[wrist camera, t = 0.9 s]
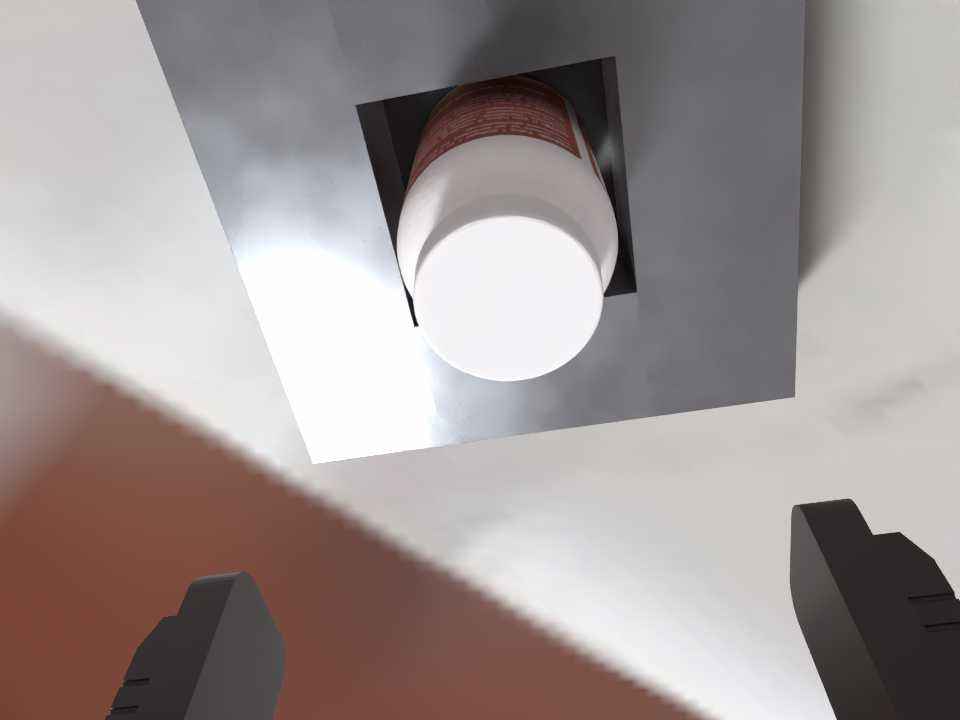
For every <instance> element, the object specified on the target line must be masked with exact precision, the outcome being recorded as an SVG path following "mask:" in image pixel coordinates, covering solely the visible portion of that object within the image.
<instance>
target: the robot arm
mask: <svg viewBox="0 0 960 720" xmlns="http://www.w3.org/2000/svg"><path fill="white" fill-rule="evenodd" d="M790 588H791V595H792V600H793V605H794V609H795V613H796V616H797V619H798V622H799V625H800V628H801V630H802V633H803V635H804V638H805V640H806V643H807V645H808V648H809V650H810V653H811V655H812V658H813V661H814V663H815V666H816V668H817V671H818V673H819V676H820V678H821V681H822V683H823V686H824V688H825V691H826V693H827V696H828V698H829V701H830V703H831V706H832V709H833V711H834V714H835V716H836V719H837V720H960V600H959V599H956V598H955V594H954V593H955V592H954V591H953V589H952V588H951V586H950V584H949V583H948V581H947V580H946V578H945V576H944V575H943V573H942V572H941V570H940V568H939V567H938V565H937V564H936V562H935V560H934V559H933V558H932V557H931V556H929V555H928V554H927V553H926V552H924V551H923V550H922V549H920V548H919V547H918V546H917V545H915V544H914V543H913V542H912V541H910V540H909V539H908V538H907V537H905V536H904V535H903V534H901V533H900V532H895V533H886V534H878V535H873V534H872V532H871V530H870V529H869V527H868V525H867V523H866V521H865V520H864V518H863V516H862V514H861V512H860V511H859V509H858V507H857V506H856V504H855V503H854V502H853V501H852V500H851V499H841V500H833V501H825V502H817V503H809V504H801V505H794V506H793V509H792V516H791V552H790ZM284 666H285V654H284V645H283V641H282V637H281V635H280V632H279V630H278V628H277V627H276V624H275V622H274V620H273V618H272V616H271V614H270V612H269V610H268V608H267V606H266V604H265V602H264V600H263V597H262V595H261V593H260V591H259V589H258V587H257V585H256V583H255V581H254V579H253V578H252V576H251V575H250V574H249V573H247V572H237V573H230V574H221V575H213V576H205V577H198V578H196V579H195V580H194V581H193V582H192V583H191V584H190V586H189V588H188V591H187V593H186V595H185V598H184V600H183V602H182V605H181V607H180V609H179V612H178V614H177V616H169V617H164V618H163V619H162V620H161V621H160V622H159V623H158V625H157V626H156V627H155V628H154V629H153V630H152V632H151V633H150V634H149V635H148V636H147V638H146V639H145V640H144V641H143V642H142V643H141V644H140V646H139V647H138V648H137V651H136V653H135V655H134V657H133V659H132V662H131V664H130V666H129V668H128V670H127V673H126V675H125V677H124V679H123V687H121V688H119V690H118V692H117V695H116V697H115V699H114V701H113V703H112V706H111V708H110V709H111V714H110V715H107V717H106V719H105V720H272V718H273V714H274V710H275V706H276V702H277V699H278V695H279V691H280V687H281V683H282V680H283V675H284Z"/></svg>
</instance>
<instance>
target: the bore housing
mask: <svg viewBox="0 0 960 720" xmlns="http://www.w3.org/2000/svg"><path fill="white" fill-rule="evenodd" d="M136 2H137V5H138V7H139V10H140V13H141V15H142V18H143V20H144V23H145V26H146V28H147V31H148V33H149V36H150V39H151V41H152V44H153V46H154V49H155V52H156V54H157V57H158V59H159V62H160V65H161V67H162V70H163V72H164V75H165V78H166V80H167V83H168V85H169V88H170V91H171V93H172V96H173V99H174V101H175V104H176V106H177V109H178V112H179V114H180V117H181V119H182V122H183V125H184V127H185V130H186V132H187V135H188V138H189V140H190V143H191V145H192V148H193V151H194V153H195V156H196V158H197V161H198V164H199V166H200V169H201V172H202V174H203V177H204V179H205V182H206V185H207V187H208V190H209V192H210V195H211V198H212V200H213V203H214V205H215V208H216V211H217V213H218V216H219V218H220V221H221V224H222V226H223V229H224V231H225V234H226V237H227V239H228V242H229V245H230V247H231V250H232V252H233V255H234V258H235V260H236V263H237V265H238V268H239V271H240V273H241V276H242V278H243V281H244V284H245V286H246V289H247V291H248V294H249V297H250V299H251V302H252V304H253V307H254V310H255V312H256V315H257V317H258V320H259V323H260V325H261V328H262V331H263V333H264V336H265V338H266V341H267V344H268V346H269V349H270V351H271V354H272V357H273V359H274V362H275V364H276V367H277V370H278V372H279V375H280V377H281V380H282V383H283V385H284V388H285V390H286V393H287V396H288V398H289V401H290V404H291V406H292V409H293V411H294V414H295V417H296V419H297V422H298V424H299V427H300V430H301V432H302V435H303V437H304V440H305V443H306V445H307V448H308V450H309V453H310V456H311V458H312V461H313V463H319V462H327V461H334V460H341V459H348V458H356V457H363V456H370V455H377V454H385V453H392V452H399V451H406V450H414V449H421V448H428V447H435V446H443V445H450V444H457V443H464V442H472V441H479V440H486V439H493V438H501V437H508V436H515V435H522V434H530V433H537V432H544V431H551V430H559V429H566V428H573V427H580V426H588V425H595V424H602V423H609V422H617V421H624V420H631V419H638V418H646V417H653V416H660V415H667V414H675V413H682V412H689V411H696V410H704V409H711V408H718V407H725V406H733V405H740V404H747V403H754V402H762V401H769V400H776V399H784V398H791V397H795V369H796V333H797V296H798V259H799V223H800V186H801V149H802V113H803V76H804V39H805V3H806V0H136ZM600 58H601V62H602V71H603V81H604V91H605V101H606V111H607V121H608V130H609V140H610V150H611V160H612V170H613V180H614V189H615V199H616V209H617V219H618V229H619V238H618V253H617V259H616V264H615V268H614V271H613V274H612V277H611V280H610V282H609V285H608V287H607V288H606V290H605V292H604V300H603V307H602V312H601V317H600V320H599V322H598V325H597V327H596V329H595V331H594V333H593V335H592V337H591V338H590V340H589V341H588V342H587V344H586V345H585V346H584V347H583V349H582V350H581V351H580V352H579V353H578V354H577V355H576V356H575V357H573V358H572V359H571V360H570V361H568V362H567V363H565V364H564V365H562V366H561V367H559V368H557V369H555V370H553V371H551V372H549V373H546V374H544V375H541V376H538V377H535V378H530V379H525V380H517V381H497V380H489V379H484V378H480V377H476V376H473V375H470V374H468V373H465V372H463V371H461V370H459V369H458V368H456V367H454V366H452V365H451V364H449V363H448V362H447V361H445V360H444V359H443V358H442V357H440V356H439V355H438V354H437V353H436V352H435V351H434V349H433V348H432V347H431V346H430V345H429V343H428V342H427V340H426V339H425V337H424V335H423V333H422V332H421V330H420V327H419V325H418V322H417V319H416V316H415V311H414V305H413V298H412V296H411V295H410V293H409V291H408V289H407V288H406V285H405V283H404V280H403V278H402V274H401V271H400V267H399V262H398V257H397V233H398V226H399V219H400V215H401V211H402V206H403V202H404V198H405V194H406V193H405V189H404V185H403V181H402V177H401V173H400V169H399V165H398V161H397V157H396V153H395V149H394V145H393V141H392V137H391V133H390V129H389V124H388V120H387V116H386V112H385V108H384V104H383V100H384V99H389V98H395V97H400V96H405V95H410V94H416V93H421V92H426V91H431V90H437V89H442V88H447V87H452V86H458V85H463V84H468V83H474V82H479V81H484V80H489V79H495V78H500V77H505V76H510V75H516V74H521V73H526V72H531V71H537V70H542V69H547V68H552V67H558V66H563V65H568V64H574V63H579V62H584V61H589V60H595V59H600Z"/></svg>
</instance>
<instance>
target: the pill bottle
mask: <svg viewBox="0 0 960 720" xmlns="http://www.w3.org/2000/svg"><path fill="white" fill-rule="evenodd" d="M617 253H618V231H617V225H616V219H615V215H614V211H613V207H612V204H611V201H610V198H609V195H608V193H607V190H606V187H605V184H604V181H603V178H602V175H601V172H600V169H599V166H598V163H597V160H596V157H595V155H594V152H593V149H592V146H591V143H590V141H589V138H588V135H587V132H586V130H585V128H584V125H583V123H582V121H581V119H580V118H579V116H578V114H577V113H576V111H575V110H574V109H573V107H572V106H571V105H570V103H569V102H568V101H567V100H566V99H565V98H564V97H563V96H562V95H560V94H559V93H558V92H557V91H555V90H554V89H553V88H551V87H549V86H547V85H546V84H544V83H542V82H539V81H537V80H534V79H531V78H528V77H525V76H520V75H510V76H505V77H500V78H495V79H489V80H484V81H479V82H474V83H468V84H463V85H460V86H458V87H456V88H455V89H454V90H452V91H451V92H450V93H448V94H447V95H446V96H445V97H444V98H443V99H442V100H441V101H440V102H439V103H438V104H437V105H436V107H435V108H434V109H433V111H432V112H431V114H430V115H429V117H428V119H427V121H426V123H425V125H424V127H423V129H422V132H421V135H420V138H419V141H418V145H417V150H416V154H415V158H414V162H413V166H412V170H411V174H410V178H409V182H408V186H407V190H406V194H405V198H404V202H403V206H402V211H401V215H400V219H399V226H398V233H397V257H398V262H399V267H400V271H401V274H402V278H403V280H404V283H405V285H406V288H407V289H408V291H409V293H410V295H411V296H412V298H413V305H414V311H415V316H416V319H417V322H418V325H419V327H420V330H421V332H422V333H423V335H424V337H425V339H426V340H427V342H428V343H429V345H430V346H431V347H432V348H433V349H434V351H435V352H436V353H437V354H438V355H439V356H440V357H442V358H443V359H444V360H445V361H447V362H448V363H449V364H451V365H452V366H454V367H456V368H458V369H459V370H461V371H463V372H465V373H468V374H470V375H473V376H476V377H480V378H484V379H489V380H497V381H517V380H525V379H530V378H535V377H538V376H541V375H544V374H546V373H549V372H551V371H553V370H555V369H557V368H559V367H561V366H562V365H564V364H565V363H567V362H568V361H570V360H571V359H572V358H573V357H575V356H576V355H577V354H578V353H579V352H580V351H581V350H582V349H583V347H584V346H585V345H586V344H587V342H588V341H589V340H590V338H591V337H592V335H593V333H594V331H595V329H596V327H597V325H598V322H599V320H600V317H601V312H602V307H603V300H604V292H605V290H606V288H607V287H608V285H609V282H610V280H611V277H612V274H613V271H614V268H615V264H616V259H617Z"/></svg>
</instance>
